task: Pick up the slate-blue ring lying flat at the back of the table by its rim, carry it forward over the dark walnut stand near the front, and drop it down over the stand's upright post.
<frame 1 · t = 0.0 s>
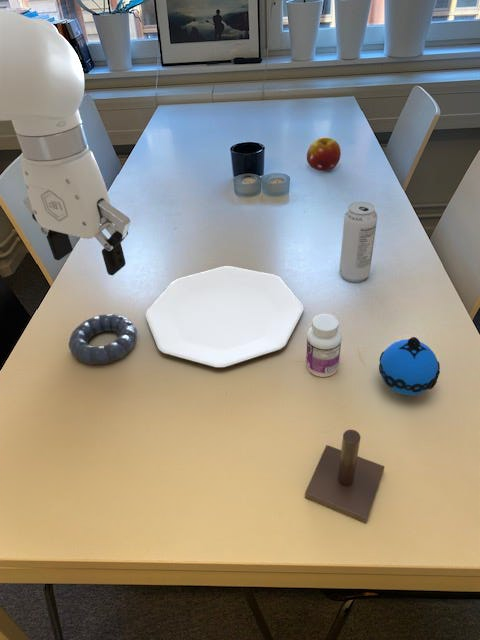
hand: (90, 262, 69), 21 cm above the table, tool pointing down, fingers open, 9 cm apart
stand: (344, 484, 64), on the table
fruit: (322, 168, 141), on the table
ornament: (404, 387, 76), on the table
energy drink can: (354, 275, 99), on the table
ring: (103, 338, 86), point 1 cm above the table
pill bottle: (322, 367, 80), on the table
plate: (224, 316, 92), on the table
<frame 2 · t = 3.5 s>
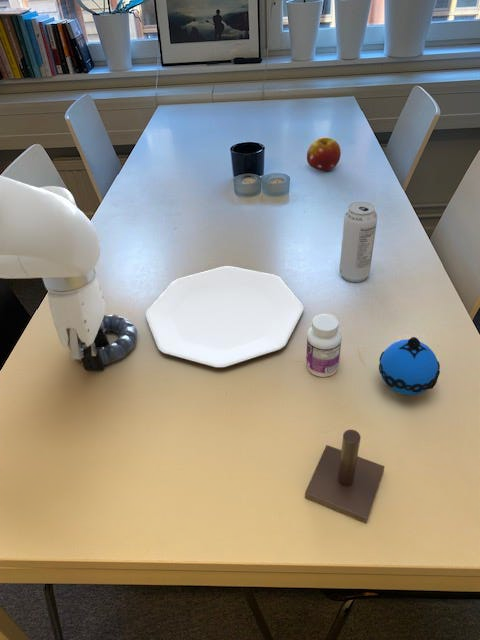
hand: (98, 359, 84), 0 cm above the table, tool pointing down, fingers closed on ring, 3 cm apart
ring: (103, 338, 86), point 2 cm above the table, touching gripper
everything else where it was.
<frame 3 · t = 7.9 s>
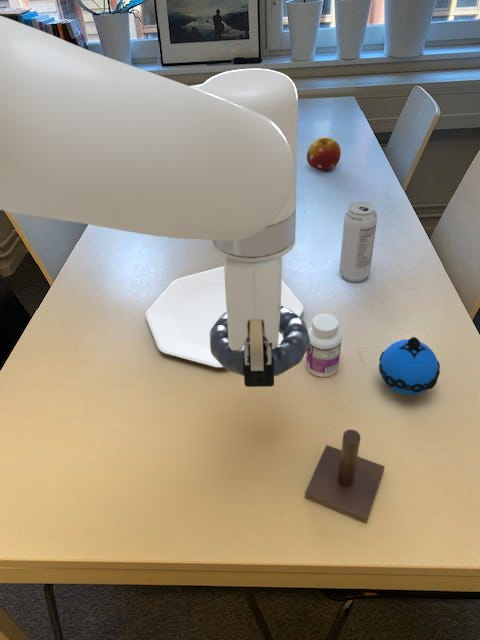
hand: (259, 369, 55), 18 cm above the table, tool pointing down, fingers closed on ring, 3 cm apart
ring: (259, 337, 58), point 19 cm above the table, touching gripper
everything else where it was.
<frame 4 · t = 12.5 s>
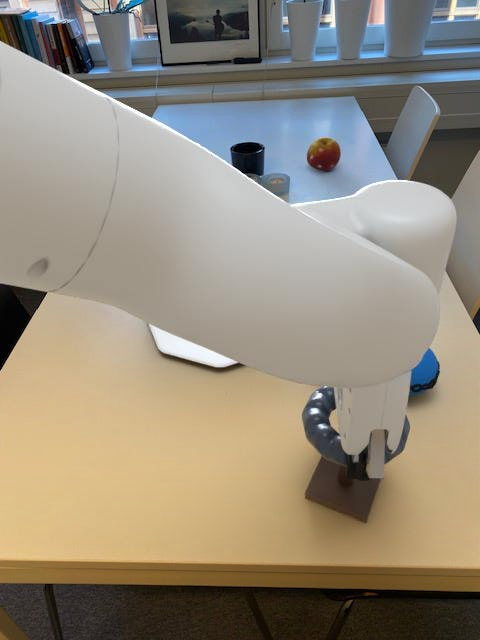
hand: (358, 458, 53), 12 cm above the table, tool pointing down, fingers closed on ring, 3 cm apart
ring: (354, 421, 55), point 13 cm above the table, touching gripper
everything else where it was.
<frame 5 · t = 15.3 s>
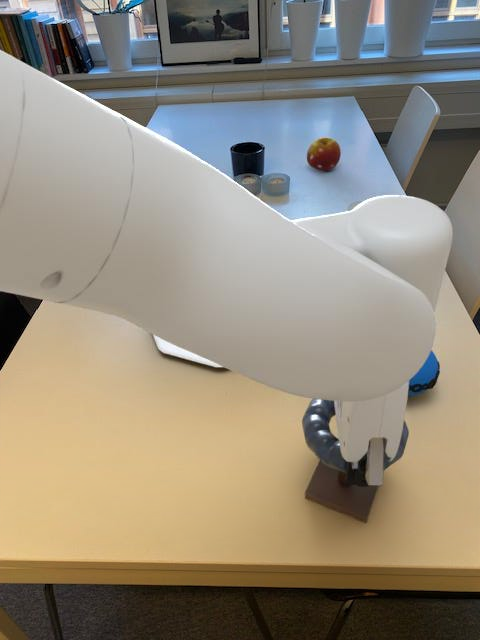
hand: (358, 464, 53), 11 cm above the table, tool pointing down, fingers closed on ring, 3 cm apart
ring: (354, 427, 56), point 12 cm above the table, touching gripper
everything else where it was.
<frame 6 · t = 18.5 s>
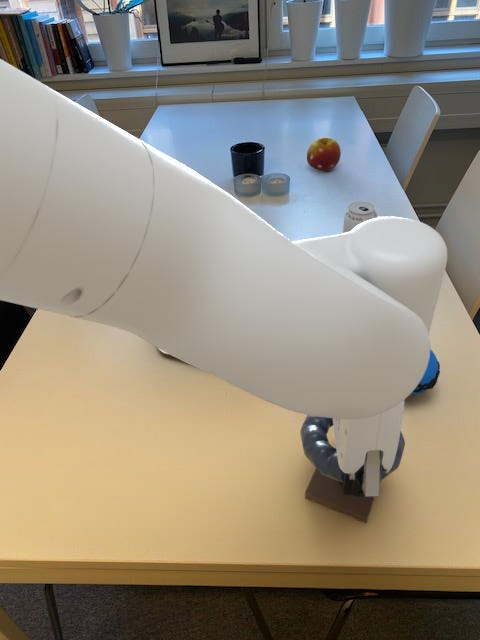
hand: (355, 474, 55), 9 cm above the table, tool pointing down, fingers closed on ring, 3 cm apart
ring: (351, 437, 57), point 10 cm above the table, touching gripper
everything else where it was.
when the fingers open (12 cm above the table, at t = 21.7 s): ring drops 10 cm, resting on stand.
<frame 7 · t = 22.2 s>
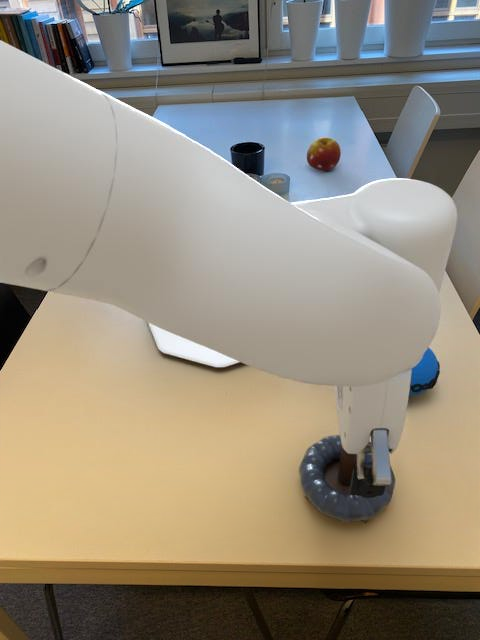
hand: (359, 452, 52), 13 cm above the table, tool pointing down, fingers open, 9 cm apart
ring: (346, 475, 62), point 3 cm above the table, touching stand
everything else where it was.
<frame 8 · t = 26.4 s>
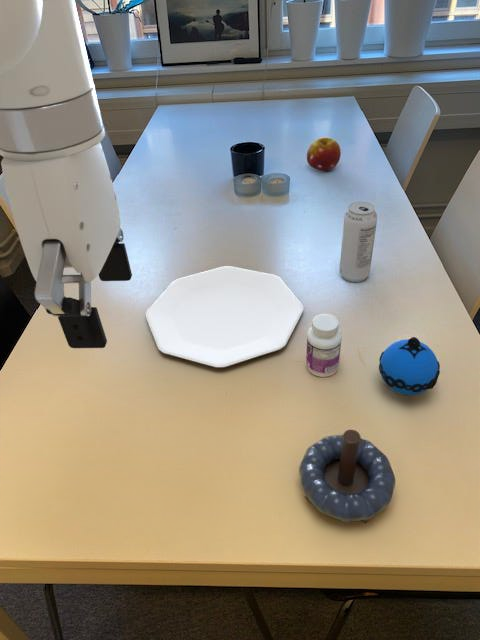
hand: (103, 309, 45), 30 cm above the table, tool pointing down, fingers open, 9 cm apart
nothing on the table moved.
at the end: ring 0.4 cm from the stand (horizontally); ring point 2.7 cm above the table; the gripper is holding nothing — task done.
